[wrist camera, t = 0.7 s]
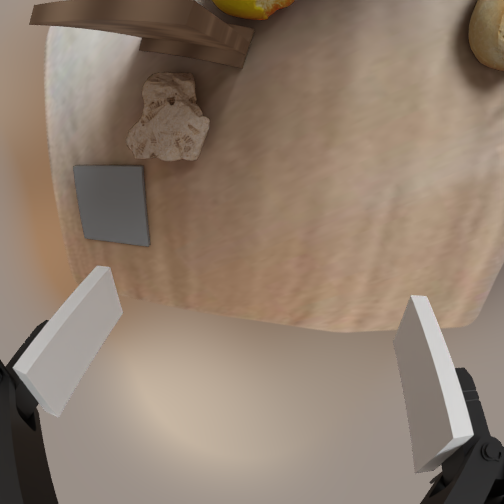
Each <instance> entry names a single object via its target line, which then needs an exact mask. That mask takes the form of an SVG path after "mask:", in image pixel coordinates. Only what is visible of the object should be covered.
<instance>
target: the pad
mask: <svg viewBox="0 0 504 504" xmlns="http://www.w3.org/2000/svg"><path fill="white" fill-rule="evenodd" d="M73 171H74V178H75V185H76V192H77V199H78V205H79V211H80V216H81V222H82V227H83V232H84V237H85V238H87V239H94V240H102V241H109V242H117V243H125V244H132V245H140V246H148V247H149V246H150V237H149V228H148V218H147V208H146V196H145V183H144V168H143V166H137V165H75V166H73Z"/></svg>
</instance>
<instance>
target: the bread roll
mask: <svg viewBox="0 0 504 504" xmlns="http://www.w3.org/2000/svg"><path fill="white" fill-rule="evenodd" d="M469 44H470V48H471V50H472V51H473V53H474V55H475V57H476V58H477V59H478V60H479V63H482V64H483V65H485V66H487V67H490V68H493V69H496V70H501V71H504V0H478V1H477V3H476V6H475V8H474V11H473V13H472V16H471V19H470V24H469Z"/></svg>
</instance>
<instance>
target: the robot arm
mask: <svg viewBox="0 0 504 504" xmlns="http://www.w3.org/2000/svg"><path fill="white" fill-rule="evenodd" d="M122 314H123V311H122V308H121V304H120V301H119V298H118V294H117V290H116V287H115V283H114V280H113V276H112V272H111V268H110V267H105V266H96V267H95V268H94V269H93V271H92V272H91V273H90V274H89V275H88V276H87V277H86V278H85V279H84V280H83V282H82V283H81V284H80V285H79V286H78V287H77V288H76V289H75V291H74V292H73V293H72V294H71V295H70V297H69V298H68V299H67V300H66V301H65V302H64V303H63V305H62V306H61V307H60V308H59V309H58V311H57V312H56V313H55V314H54V315H53V317H52V318H51V319H50V320H46V321H44V322H43V323H41V324H40V325H39V326H37V327H36V328H35V330H34V331H33V332H32V333H31V334H30V337H28V338H27V339H26V341H25V343H23V345H22V346H21V347H20V348H19V350H18V351H17V352H16V354H15V355H14V356H13V358H12V359H11V360H10V362H9V363H8V364H7V366H6V367H5V366H4V364H3V363H2V362H1V360H0V504H58V501H57V497H56V494H55V490H54V486H53V483H52V479H51V475H50V471H49V467H48V462H47V458H46V453H45V448H44V443H43V437H42V431H41V425H40V418H39V413H38V410H37V408H36V407H37V405H38V404H40V405H41V407H42V408H43V409H44V410H45V411H46V412H48V413H50V414H52V415H54V416H56V417H59V416H60V415H61V413H62V411H63V409H64V408H65V405H66V404H67V402H68V401H69V399H70V397H71V395H72V394H73V392H74V390H75V389H76V387H77V385H78V384H79V382H80V380H81V378H82V377H83V375H84V374H85V372H86V370H87V368H88V367H89V365H90V363H91V362H92V360H93V359H94V357H95V356H96V354H97V353H98V351H99V349H100V348H101V346H102V345H103V343H104V342H105V340H106V338H107V337H108V335H109V334H110V332H111V330H112V329H113V327H114V326H115V325H116V323H117V322H118V320H119V318H120V317H121V315H122ZM393 345H394V349H395V353H396V358H397V363H398V367H399V372H400V377H401V382H402V387H403V393H404V398H405V403H406V409H407V416H408V422H409V429H410V436H411V443H412V451H413V459H414V469H415V473H421V472H428V471H434V470H435V469H436V468H437V467H438V466H440V465H442V472H441V473H440V474H438V475H437V476H436V477H435V478H433V479H432V480H431V481H430V483H431V484H432V483H433V482H434V484H433V486H432V487H431V488H430V490H429V491H428V493H427V494H426V496H425V497H424V499H423V500H422V502H421V503H420V504H504V447H503V446H502V444H501V442H500V441H499V440H498V439H496V438H494V437H491V436H490V433H489V430H488V426H487V423H486V419H485V416H484V412H483V409H482V406H481V402H480V401H479V396H478V393H477V391H476V387H475V384H474V382H473V379H472V377H471V375H470V374H469V373H468V372H467V370H466V369H465V368H454V365H453V363H452V360H451V357H450V354H449V351H448V348H447V346H446V343H445V340H444V338H443V335H442V333H441V330H440V327H439V325H438V322H437V320H436V317H435V315H434V313H433V310H432V308H431V305H430V303H429V301H428V298H427V296H415V295H411V296H410V299H409V302H408V304H407V307H406V310H405V312H404V315H403V318H402V320H401V323H400V325H399V328H398V330H397V333H396V335H395V338H394V340H393Z"/></svg>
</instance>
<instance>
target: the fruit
mask: <svg viewBox="0 0 504 504" xmlns="http://www.w3.org/2000/svg"><path fill="white" fill-rule="evenodd" d="M212 1H213V2H214V4H215V5H216V6H217V7H218V8H219V9H220V10H221V11H223V12H224V13H226V14H228V15H231V16H235V17H239V18H244V19H250V20H266V19H268V16H270V15H272V14H273V13H274V12H275V11H276V10H278V9H282V8H284V7H288V6H290V5H291V4H292V3H293V2H295V1H294V0H212Z"/></svg>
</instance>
